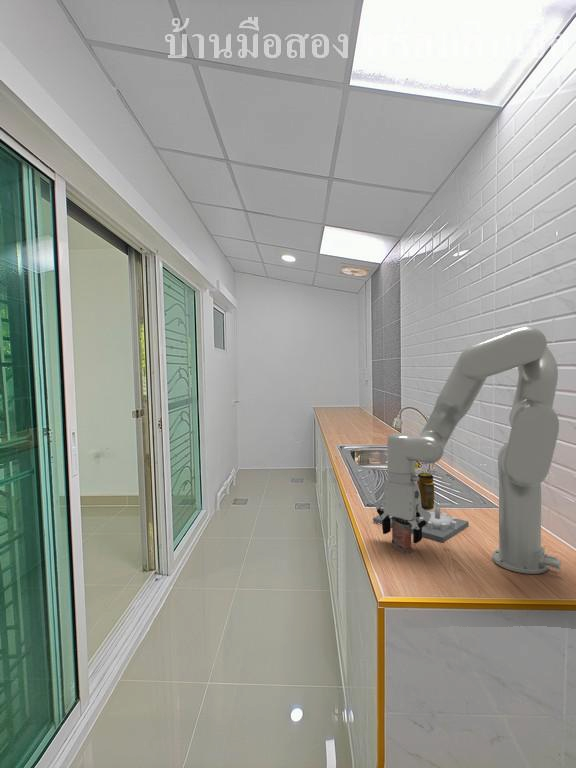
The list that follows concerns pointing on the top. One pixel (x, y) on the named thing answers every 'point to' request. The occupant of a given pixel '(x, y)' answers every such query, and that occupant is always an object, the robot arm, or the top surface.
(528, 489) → the robot arm
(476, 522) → the top surface
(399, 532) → the lighter
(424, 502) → the condiment
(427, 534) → the gear board
